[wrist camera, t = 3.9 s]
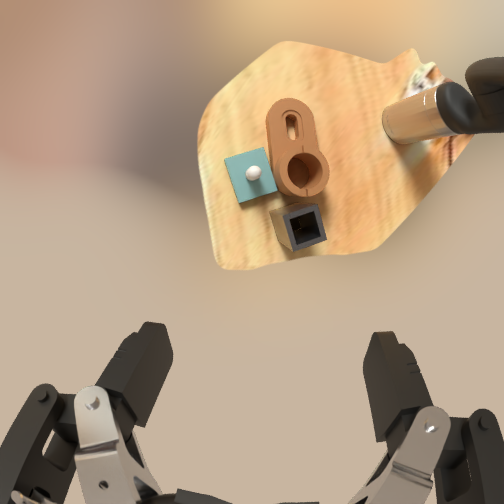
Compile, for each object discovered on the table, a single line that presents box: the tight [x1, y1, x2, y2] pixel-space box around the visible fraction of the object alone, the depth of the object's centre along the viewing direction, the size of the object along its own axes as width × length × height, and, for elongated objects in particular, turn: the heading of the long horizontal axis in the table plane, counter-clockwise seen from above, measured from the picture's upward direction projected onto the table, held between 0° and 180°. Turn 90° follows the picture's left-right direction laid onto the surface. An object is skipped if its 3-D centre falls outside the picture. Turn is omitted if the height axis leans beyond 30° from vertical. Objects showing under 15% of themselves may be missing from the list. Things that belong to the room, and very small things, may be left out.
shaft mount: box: [224, 147, 278, 203], centre depth 43 cm, size 7×8×7 cm
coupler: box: [269, 202, 327, 252], centre depth 44 cm, size 6×6×10 cm
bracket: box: [266, 98, 329, 197], centre depth 43 cm, size 18×8×7 cm, turn 6°
